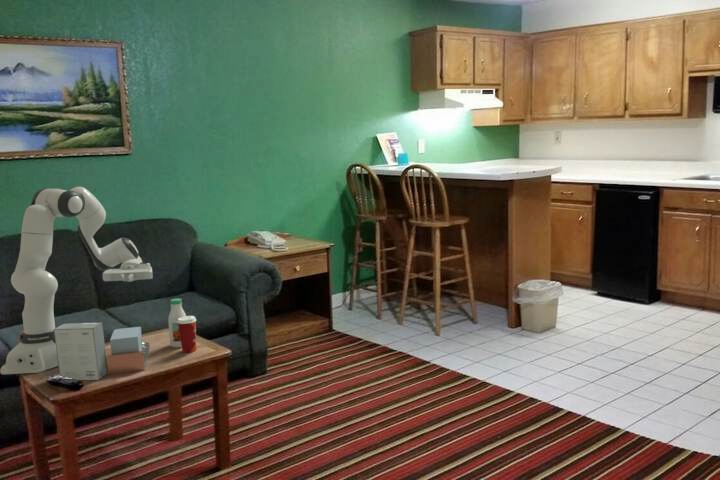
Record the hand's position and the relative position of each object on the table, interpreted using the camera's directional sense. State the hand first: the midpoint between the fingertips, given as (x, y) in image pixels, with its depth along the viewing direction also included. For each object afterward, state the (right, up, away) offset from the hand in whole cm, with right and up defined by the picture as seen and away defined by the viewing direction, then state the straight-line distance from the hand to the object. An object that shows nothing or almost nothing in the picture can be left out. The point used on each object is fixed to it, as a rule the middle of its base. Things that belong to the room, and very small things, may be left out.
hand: (126, 279), depth 273 cm
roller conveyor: (+6, -31, -11) cm, 34 cm away
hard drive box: (-5, -35, -29) cm, 46 cm away
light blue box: (+7, -29, -17) cm, 34 cm away
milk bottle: (+22, -28, +4) cm, 36 cm away
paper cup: (+28, -30, -4) cm, 41 cm away
